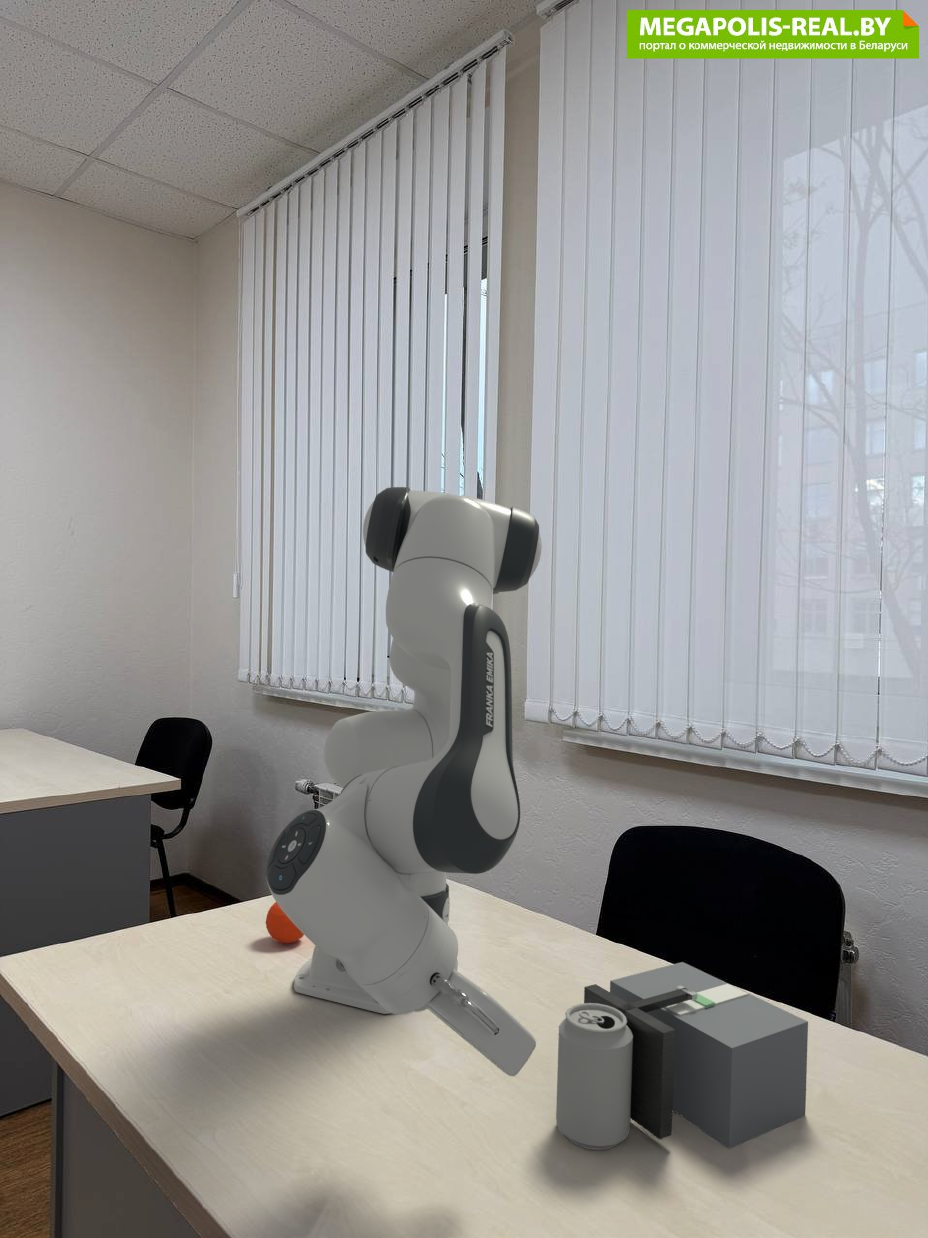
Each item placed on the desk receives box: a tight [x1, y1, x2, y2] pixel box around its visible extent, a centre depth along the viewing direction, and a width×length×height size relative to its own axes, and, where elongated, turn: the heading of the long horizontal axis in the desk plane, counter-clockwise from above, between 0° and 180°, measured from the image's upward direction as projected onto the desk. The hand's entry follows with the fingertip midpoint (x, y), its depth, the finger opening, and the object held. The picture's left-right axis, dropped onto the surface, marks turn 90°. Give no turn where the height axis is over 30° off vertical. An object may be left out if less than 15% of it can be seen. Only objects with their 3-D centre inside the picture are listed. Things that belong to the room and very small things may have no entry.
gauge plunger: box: [583, 983, 697, 1140], centre depth 91 cm, size 10×12×10 cm
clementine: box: [265, 901, 305, 944], centre depth 135 cm, size 8×7×7 cm
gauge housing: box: [609, 961, 809, 1149], centre depth 95 cm, size 12×18×10 cm, turn 32°
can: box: [555, 1002, 633, 1151], centre depth 86 cm, size 8×8×12 cm
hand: (494, 1042), depth 80 cm, fingers closed
